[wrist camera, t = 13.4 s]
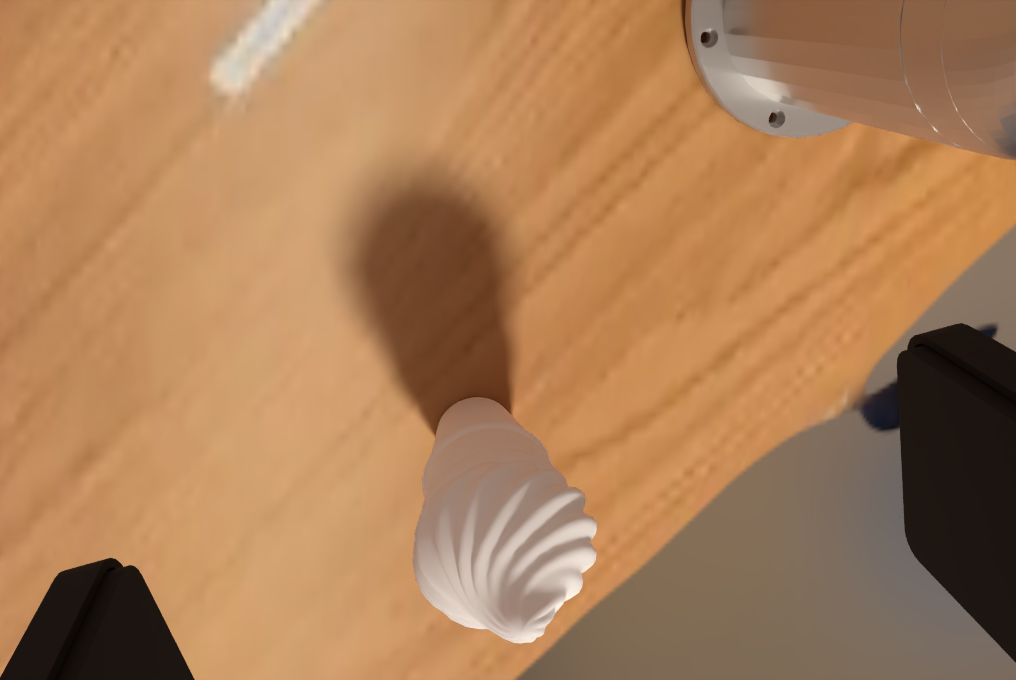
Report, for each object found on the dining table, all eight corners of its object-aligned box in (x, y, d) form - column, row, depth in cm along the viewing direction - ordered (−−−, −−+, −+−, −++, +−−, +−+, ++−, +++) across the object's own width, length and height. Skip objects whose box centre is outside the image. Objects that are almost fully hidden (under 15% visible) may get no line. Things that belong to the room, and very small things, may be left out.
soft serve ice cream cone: (392, 372, 46) (407, 548, 31) (544, 352, 47) (627, 514, 32) (409, 504, 49) (431, 720, 34) (551, 483, 50) (631, 684, 35)
